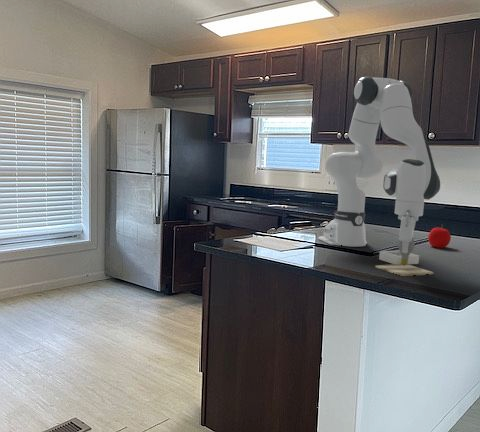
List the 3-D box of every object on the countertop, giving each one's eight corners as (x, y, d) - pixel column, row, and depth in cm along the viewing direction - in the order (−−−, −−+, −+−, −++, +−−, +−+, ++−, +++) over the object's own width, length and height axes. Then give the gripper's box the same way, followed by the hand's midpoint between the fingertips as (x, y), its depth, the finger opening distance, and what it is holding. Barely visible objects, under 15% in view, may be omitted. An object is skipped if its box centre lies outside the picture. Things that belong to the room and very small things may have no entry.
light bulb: (415, 267, 157) (418, 237, 156) (399, 267, 156) (402, 236, 155) (408, 263, 162) (411, 234, 161) (392, 263, 162) (395, 234, 160)
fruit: (451, 250, 203) (454, 226, 201) (429, 248, 204) (431, 225, 203) (447, 246, 212) (449, 223, 210) (425, 244, 213) (427, 222, 212)
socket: (379, 259, 176) (379, 251, 176) (399, 258, 180) (400, 250, 180) (397, 265, 167) (398, 256, 167) (418, 263, 171) (419, 255, 171)
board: (375, 267, 163) (375, 265, 163) (405, 265, 168) (405, 263, 168) (402, 276, 151) (402, 274, 151) (433, 274, 156) (433, 272, 156)
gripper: (418, 213, 146) (414, 257, 148) (419, 207, 165) (416, 247, 167) (396, 211, 148) (393, 255, 150) (400, 206, 167) (397, 245, 169)
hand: (405, 251), depth 159 cm, fingers closed on light bulb, 5 cm apart
